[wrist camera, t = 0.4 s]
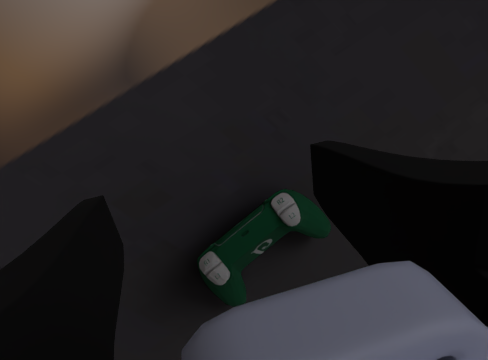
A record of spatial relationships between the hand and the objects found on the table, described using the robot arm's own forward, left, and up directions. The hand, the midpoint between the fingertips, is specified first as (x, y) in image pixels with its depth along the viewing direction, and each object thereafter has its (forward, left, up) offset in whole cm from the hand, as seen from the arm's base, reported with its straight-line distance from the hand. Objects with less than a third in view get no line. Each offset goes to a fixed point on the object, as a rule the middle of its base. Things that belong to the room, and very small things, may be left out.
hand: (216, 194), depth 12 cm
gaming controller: (-4, -7, -11) cm, 13 cm away
